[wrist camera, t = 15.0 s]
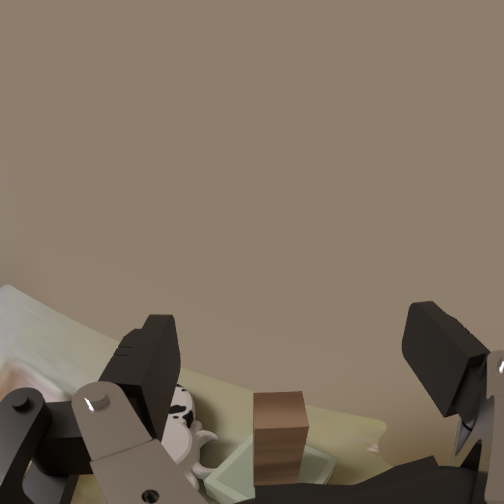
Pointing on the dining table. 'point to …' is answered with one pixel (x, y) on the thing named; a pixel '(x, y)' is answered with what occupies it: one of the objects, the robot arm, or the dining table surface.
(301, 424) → the block
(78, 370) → the dining table surface
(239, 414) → the dining table surface
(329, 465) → the stand
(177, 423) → the toy
